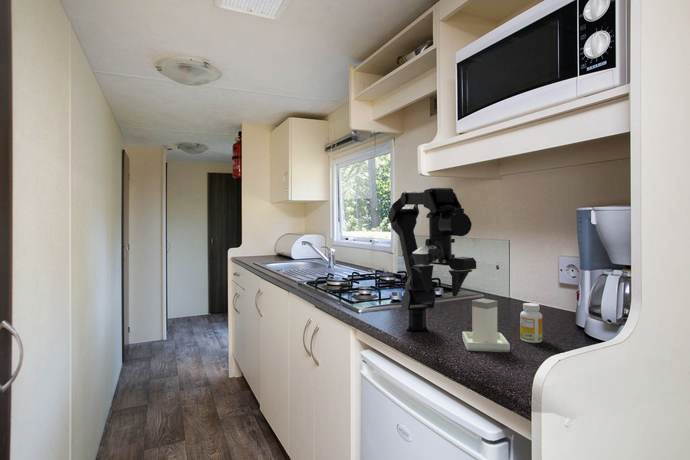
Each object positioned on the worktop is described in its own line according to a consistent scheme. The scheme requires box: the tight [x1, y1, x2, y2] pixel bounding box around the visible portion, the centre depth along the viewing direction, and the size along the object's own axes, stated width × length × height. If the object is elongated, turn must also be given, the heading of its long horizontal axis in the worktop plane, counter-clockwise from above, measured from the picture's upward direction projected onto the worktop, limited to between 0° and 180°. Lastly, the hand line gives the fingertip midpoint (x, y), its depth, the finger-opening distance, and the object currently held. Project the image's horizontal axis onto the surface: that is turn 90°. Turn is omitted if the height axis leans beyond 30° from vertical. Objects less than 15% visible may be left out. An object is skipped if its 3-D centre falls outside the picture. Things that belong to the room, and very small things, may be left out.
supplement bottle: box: [519, 302, 543, 344], centre depth 108 cm, size 5×5×10 cm
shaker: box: [471, 298, 499, 343], centre depth 104 cm, size 4×4×11 cm
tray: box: [461, 331, 511, 353], centre depth 104 cm, size 10×10×2 cm
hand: (440, 293), depth 107 cm, fingers open, 9 cm apart
